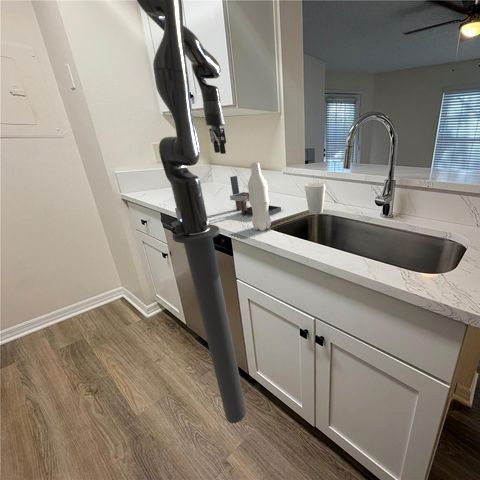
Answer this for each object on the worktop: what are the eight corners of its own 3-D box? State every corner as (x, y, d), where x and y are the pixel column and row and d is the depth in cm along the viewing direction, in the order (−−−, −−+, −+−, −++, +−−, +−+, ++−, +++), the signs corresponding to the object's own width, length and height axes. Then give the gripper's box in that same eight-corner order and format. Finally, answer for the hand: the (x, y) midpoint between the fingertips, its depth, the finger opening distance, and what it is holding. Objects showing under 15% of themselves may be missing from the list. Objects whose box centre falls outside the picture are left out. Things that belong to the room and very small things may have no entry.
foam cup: (307, 216, 116) (306, 187, 111) (304, 210, 125) (303, 183, 119) (328, 214, 118) (327, 185, 113) (323, 209, 126) (323, 182, 121)
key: (250, 197, 126) (249, 196, 126) (247, 198, 124) (247, 197, 124) (242, 196, 128) (242, 195, 128) (239, 197, 126) (239, 196, 126)
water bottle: (260, 233, 98) (252, 164, 88) (249, 229, 102) (240, 163, 92) (275, 227, 103) (269, 162, 93) (264, 224, 107) (257, 161, 97)
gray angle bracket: (262, 197, 128) (259, 175, 124) (245, 203, 119) (242, 179, 115) (244, 195, 133) (241, 174, 129) (227, 200, 124) (223, 178, 120)
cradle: (265, 207, 131) (264, 194, 128) (244, 215, 119) (242, 200, 117) (250, 205, 136) (248, 192, 133) (229, 212, 124) (226, 198, 121)
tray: (281, 210, 125) (281, 207, 124) (264, 217, 115) (264, 213, 115) (259, 207, 131) (258, 203, 131) (241, 213, 122) (241, 209, 121)
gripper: (200, 114, 115) (207, 152, 121) (209, 112, 104) (216, 154, 111) (217, 114, 119) (223, 151, 125) (227, 112, 108) (233, 153, 115)
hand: (220, 153), depth 118 cm, fingers open, 8 cm apart
